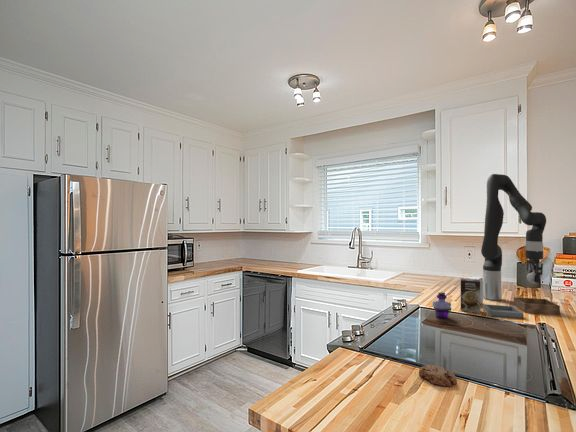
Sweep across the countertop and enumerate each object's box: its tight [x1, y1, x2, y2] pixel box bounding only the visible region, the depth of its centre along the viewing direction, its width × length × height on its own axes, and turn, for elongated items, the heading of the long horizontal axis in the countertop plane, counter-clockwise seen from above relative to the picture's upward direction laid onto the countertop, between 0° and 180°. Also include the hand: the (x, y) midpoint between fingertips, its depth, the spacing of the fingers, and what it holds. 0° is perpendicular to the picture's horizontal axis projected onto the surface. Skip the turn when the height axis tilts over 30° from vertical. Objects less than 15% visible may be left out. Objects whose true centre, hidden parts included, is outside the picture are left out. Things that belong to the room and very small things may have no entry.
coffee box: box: [459, 278, 481, 314], centre depth 169 cm, size 9×6×16 cm
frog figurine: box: [526, 271, 543, 285], centre depth 170 cm, size 6×7×7 cm
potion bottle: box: [432, 291, 452, 320], centre depth 157 cm, size 9×9×12 cm
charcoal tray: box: [482, 303, 524, 319], centre depth 162 cm, size 14×14×3 cm
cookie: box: [418, 364, 458, 388], centre depth 96 cm, size 10×11×3 cm
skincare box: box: [466, 275, 484, 305], centre depth 183 cm, size 8×6×15 cm
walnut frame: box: [513, 296, 561, 316], centre depth 169 cm, size 15×15×4 cm
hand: (534, 281), depth 169 cm, fingers closed on frog figurine, 6 cm apart
